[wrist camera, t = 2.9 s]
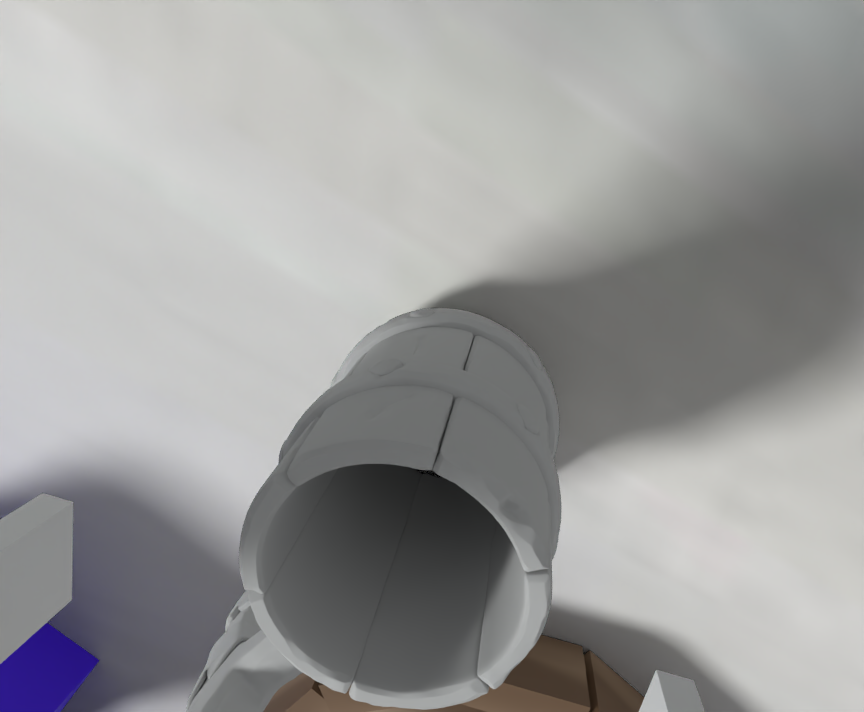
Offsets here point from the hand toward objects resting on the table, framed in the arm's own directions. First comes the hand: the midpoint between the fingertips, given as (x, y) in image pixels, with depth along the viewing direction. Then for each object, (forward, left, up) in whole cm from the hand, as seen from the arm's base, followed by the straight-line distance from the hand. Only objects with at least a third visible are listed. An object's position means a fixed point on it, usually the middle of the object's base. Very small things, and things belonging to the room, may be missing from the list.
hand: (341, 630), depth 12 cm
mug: (0, 0, -9) cm, 9 cm away
